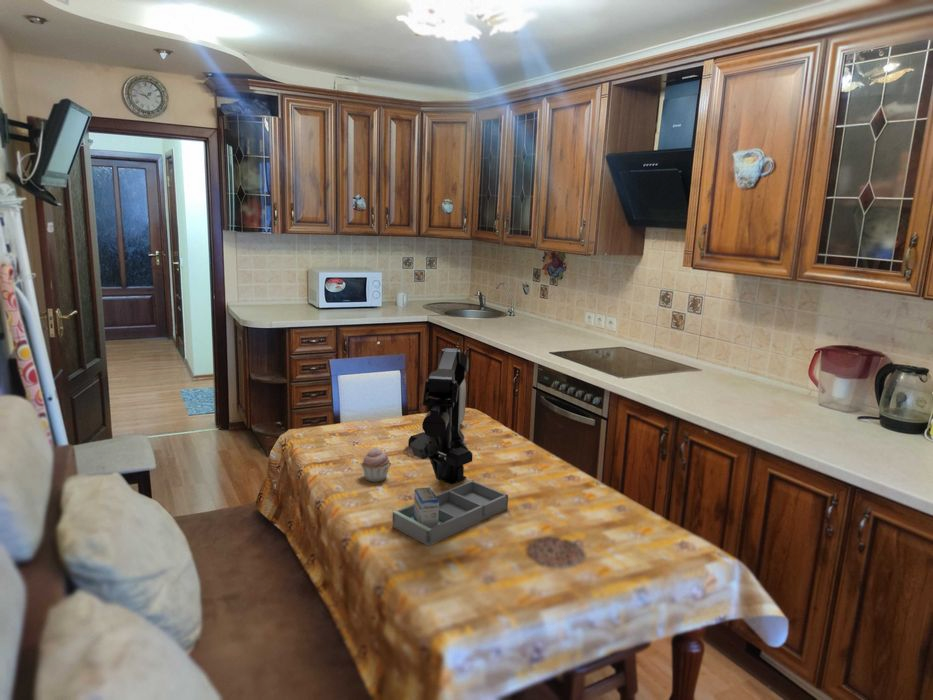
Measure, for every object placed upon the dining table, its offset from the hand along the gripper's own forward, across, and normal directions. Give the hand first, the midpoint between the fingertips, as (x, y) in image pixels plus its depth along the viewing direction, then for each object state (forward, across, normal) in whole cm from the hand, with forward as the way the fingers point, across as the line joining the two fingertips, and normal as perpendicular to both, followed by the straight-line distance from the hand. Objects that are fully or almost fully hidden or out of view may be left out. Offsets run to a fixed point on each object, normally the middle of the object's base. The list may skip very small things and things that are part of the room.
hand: (439, 479), depth 165 cm
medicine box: (+11, +1, -6) cm, 12 cm away
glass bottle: (+14, -52, +56) cm, 78 cm away
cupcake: (+13, -33, +5) cm, 35 cm away
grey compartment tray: (+12, +1, +4) cm, 13 cm away
